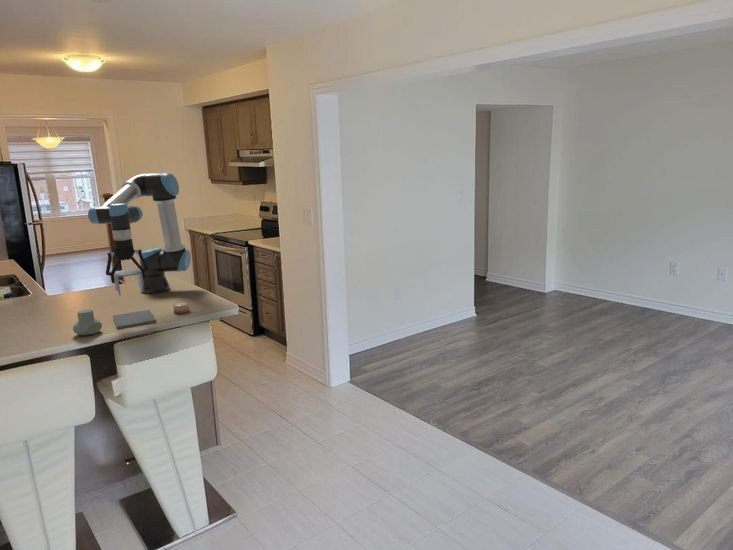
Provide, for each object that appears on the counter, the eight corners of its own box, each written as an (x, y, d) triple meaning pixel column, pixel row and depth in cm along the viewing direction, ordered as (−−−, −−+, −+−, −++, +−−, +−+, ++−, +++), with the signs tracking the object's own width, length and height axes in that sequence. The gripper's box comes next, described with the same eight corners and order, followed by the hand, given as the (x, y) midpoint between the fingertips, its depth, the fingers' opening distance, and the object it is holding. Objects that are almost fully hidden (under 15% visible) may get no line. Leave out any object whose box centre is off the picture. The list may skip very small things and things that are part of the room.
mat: (113, 317, 243) (112, 315, 243) (149, 311, 251) (149, 309, 251) (117, 329, 226) (116, 326, 226) (156, 322, 234) (155, 320, 234)
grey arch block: (116, 289, 238) (114, 271, 236) (140, 286, 243) (137, 268, 241) (119, 295, 228) (116, 276, 226) (143, 291, 233) (141, 272, 231)
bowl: (172, 311, 250) (171, 304, 249) (187, 308, 253) (186, 301, 252) (175, 314, 244) (174, 307, 243) (190, 312, 247) (190, 305, 247)
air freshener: (92, 328, 228) (89, 306, 226) (106, 330, 225) (103, 308, 223) (70, 336, 219) (66, 314, 216) (84, 338, 215) (80, 315, 213)
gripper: (94, 243, 221) (102, 293, 226) (151, 237, 232) (157, 285, 237) (93, 240, 228) (101, 290, 233) (148, 235, 239) (154, 282, 244)
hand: (129, 287), depth 235 cm, fingers closed on grey arch block, 10 cm apart
